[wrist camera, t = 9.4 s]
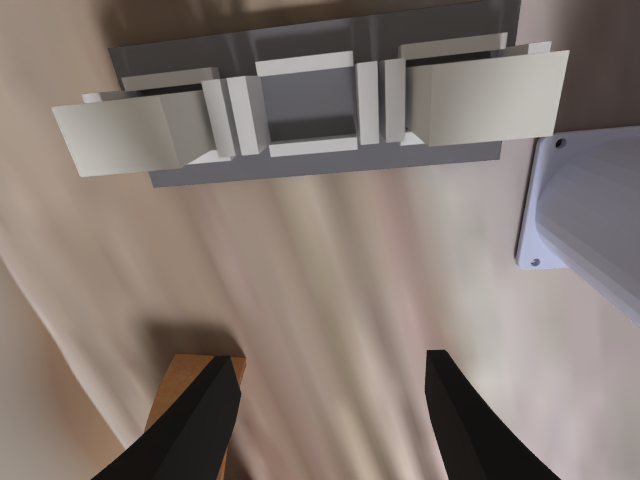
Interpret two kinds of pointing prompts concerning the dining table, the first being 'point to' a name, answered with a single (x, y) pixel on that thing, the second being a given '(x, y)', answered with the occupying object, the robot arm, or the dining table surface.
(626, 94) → the dining table surface
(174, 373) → the arch
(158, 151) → the block
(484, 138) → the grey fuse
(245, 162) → the fuse block
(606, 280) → the robot arm
